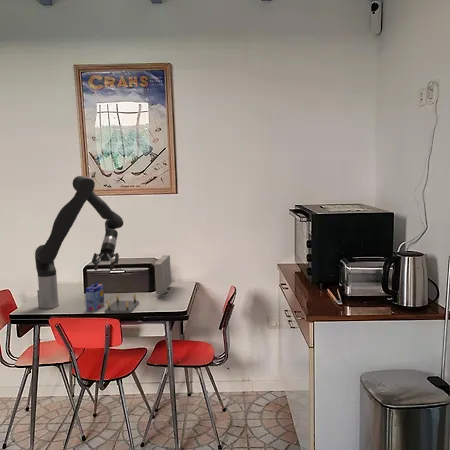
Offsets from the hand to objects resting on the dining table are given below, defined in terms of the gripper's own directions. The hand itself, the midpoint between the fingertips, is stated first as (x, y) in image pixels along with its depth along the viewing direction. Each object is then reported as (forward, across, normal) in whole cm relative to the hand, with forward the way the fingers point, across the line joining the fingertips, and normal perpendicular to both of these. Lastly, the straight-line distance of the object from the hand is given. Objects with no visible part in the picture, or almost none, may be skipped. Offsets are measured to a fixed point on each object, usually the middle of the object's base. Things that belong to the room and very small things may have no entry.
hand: (103, 269), depth 242 cm
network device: (0, +29, +26) cm, 39 cm away
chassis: (+22, +14, +4) cm, 26 cm away
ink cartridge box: (+22, 0, +3) cm, 23 cm away
